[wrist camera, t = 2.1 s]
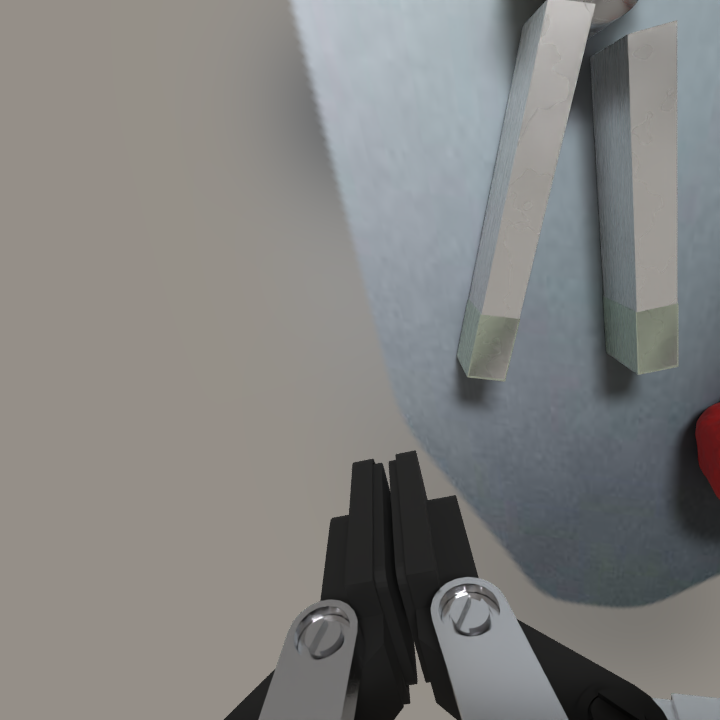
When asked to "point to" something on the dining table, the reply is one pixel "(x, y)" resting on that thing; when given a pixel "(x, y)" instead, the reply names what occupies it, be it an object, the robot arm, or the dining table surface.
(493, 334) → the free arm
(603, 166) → the bar
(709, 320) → the dining table surface
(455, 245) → the dining table surface
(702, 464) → the pomegranate
